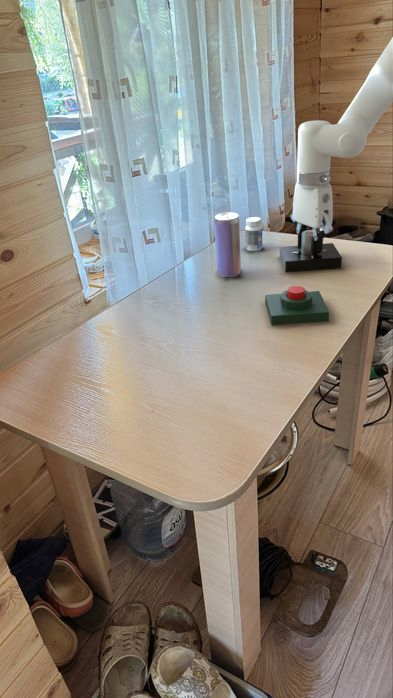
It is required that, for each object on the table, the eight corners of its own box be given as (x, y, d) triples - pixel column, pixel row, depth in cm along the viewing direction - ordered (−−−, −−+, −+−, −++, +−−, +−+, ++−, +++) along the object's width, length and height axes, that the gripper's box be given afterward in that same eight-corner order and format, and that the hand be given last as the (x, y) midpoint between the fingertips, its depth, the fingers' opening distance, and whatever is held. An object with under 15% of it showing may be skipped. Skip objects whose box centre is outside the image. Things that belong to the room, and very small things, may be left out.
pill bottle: (262, 251, 142) (261, 221, 138) (245, 251, 143) (244, 222, 139) (262, 245, 146) (262, 216, 142) (246, 245, 147) (245, 216, 143)
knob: (297, 251, 133) (298, 231, 130) (310, 247, 134) (311, 227, 132) (308, 256, 129) (309, 236, 126) (322, 252, 131) (323, 231, 128)
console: (331, 253, 137) (332, 242, 136) (341, 268, 129) (342, 256, 127) (279, 257, 138) (279, 246, 136) (285, 272, 129) (285, 260, 128)
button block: (318, 299, 116) (319, 283, 114) (328, 321, 107) (329, 304, 105) (265, 303, 116) (265, 287, 114) (271, 325, 108) (271, 308, 105)
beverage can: (222, 280, 128) (218, 221, 121) (214, 271, 133) (211, 214, 125) (244, 275, 130) (242, 217, 122) (236, 267, 135) (234, 210, 127)
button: (303, 292, 111) (303, 285, 110) (306, 300, 108) (306, 292, 107) (286, 293, 111) (286, 286, 110) (289, 301, 108) (289, 293, 107)
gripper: (350, 181, 117) (344, 256, 127) (301, 169, 130) (299, 238, 139) (325, 187, 114) (321, 264, 124) (278, 174, 127) (277, 245, 136)
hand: (309, 249), depth 132 cm, fingers open, 4 cm apart
